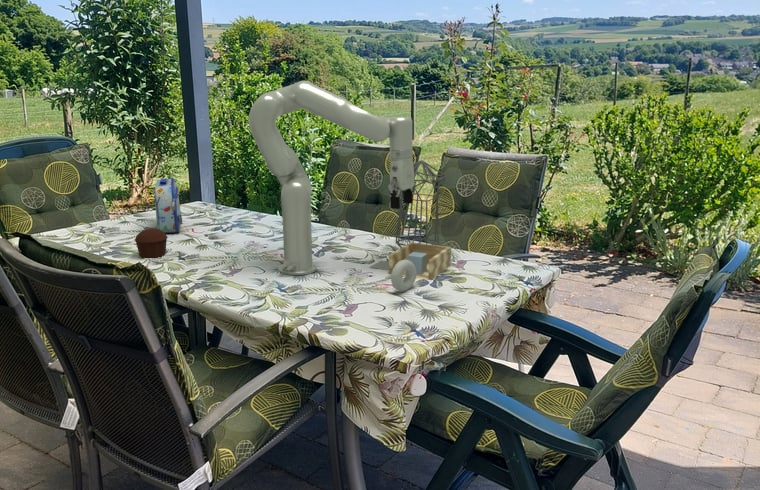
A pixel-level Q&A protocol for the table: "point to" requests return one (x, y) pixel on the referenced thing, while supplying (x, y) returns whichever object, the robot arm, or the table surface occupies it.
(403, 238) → the geometric lantern
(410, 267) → the donut
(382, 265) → the coaster
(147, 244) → the muffin
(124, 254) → the table surface
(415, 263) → the block
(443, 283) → the table surface
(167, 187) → the lunch box
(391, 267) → the box
